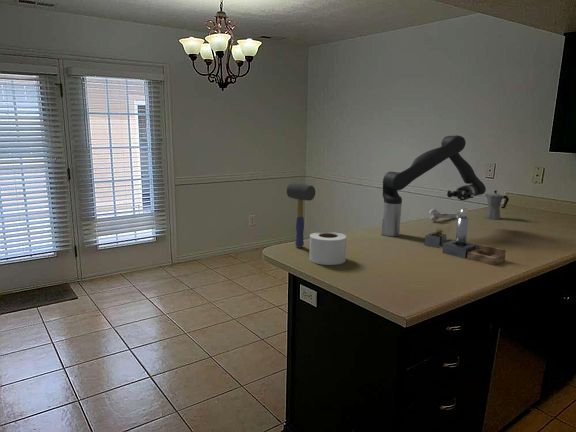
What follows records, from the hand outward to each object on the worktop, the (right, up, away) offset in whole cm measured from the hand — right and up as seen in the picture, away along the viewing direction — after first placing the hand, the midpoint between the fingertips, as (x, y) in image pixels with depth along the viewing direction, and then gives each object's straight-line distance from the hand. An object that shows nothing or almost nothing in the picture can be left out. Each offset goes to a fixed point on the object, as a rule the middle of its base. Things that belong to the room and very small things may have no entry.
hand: (453, 196), depth 223 cm
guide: (-13, -24, -10) cm, 29 cm away
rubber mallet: (-80, -25, -19) cm, 86 cm away
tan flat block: (-7, -23, -3) cm, 24 cm away
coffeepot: (+47, -12, +56) cm, 74 cm away
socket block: (-7, -27, -24) cm, 37 cm away
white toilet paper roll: (-68, -29, -37) cm, 83 cm away
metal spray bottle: (-7, -25, -25) cm, 36 cm away
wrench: (+12, -13, +48) cm, 51 cm away
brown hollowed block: (+1, -29, -33) cm, 44 cm away
